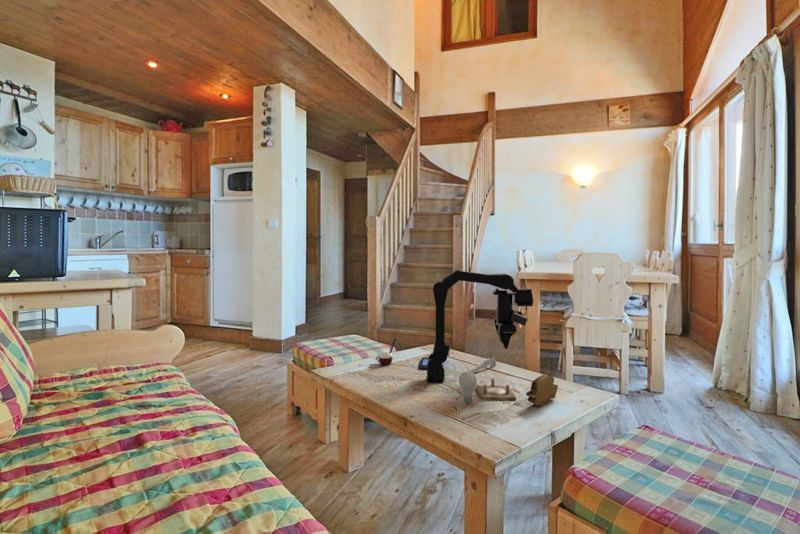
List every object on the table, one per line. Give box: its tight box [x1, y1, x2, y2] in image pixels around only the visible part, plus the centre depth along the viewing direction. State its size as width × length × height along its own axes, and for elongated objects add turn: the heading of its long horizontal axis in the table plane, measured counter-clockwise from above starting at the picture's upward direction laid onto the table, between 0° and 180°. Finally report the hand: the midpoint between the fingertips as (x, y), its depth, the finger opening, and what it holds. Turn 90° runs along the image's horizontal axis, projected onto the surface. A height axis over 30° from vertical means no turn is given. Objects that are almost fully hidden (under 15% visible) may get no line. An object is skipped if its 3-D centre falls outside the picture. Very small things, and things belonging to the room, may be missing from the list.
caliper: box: [468, 353, 497, 375], centre depth 181 cm, size 20×1×6 cm, turn 132°
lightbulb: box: [458, 370, 478, 405], centre depth 145 cm, size 6×6×11 cm
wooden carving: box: [525, 374, 559, 407], centre depth 144 cm, size 16×5×10 cm, turn 135°
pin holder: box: [475, 378, 517, 401], centre depth 154 cm, size 12×12×4 cm
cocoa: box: [375, 338, 397, 366], centre depth 192 cm, size 10×6×12 cm, turn 48°
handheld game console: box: [418, 341, 451, 371], centre depth 190 cm, size 16×13×9 cm
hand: (504, 345), depth 166 cm, fingers open, 9 cm apart
